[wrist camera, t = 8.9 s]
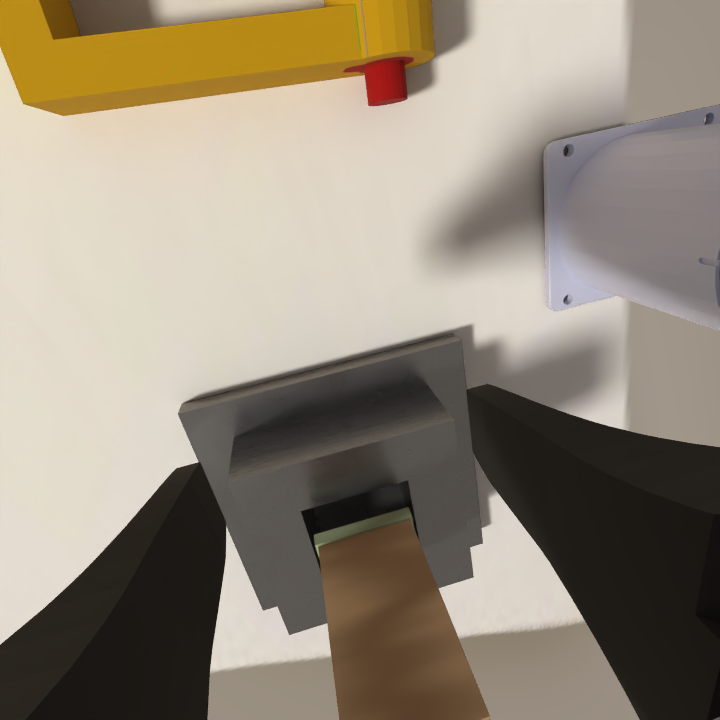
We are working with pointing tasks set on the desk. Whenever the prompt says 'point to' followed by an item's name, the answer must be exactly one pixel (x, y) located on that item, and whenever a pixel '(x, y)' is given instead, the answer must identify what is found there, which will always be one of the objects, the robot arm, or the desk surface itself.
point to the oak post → (391, 627)
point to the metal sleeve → (341, 466)
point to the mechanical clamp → (211, 54)
